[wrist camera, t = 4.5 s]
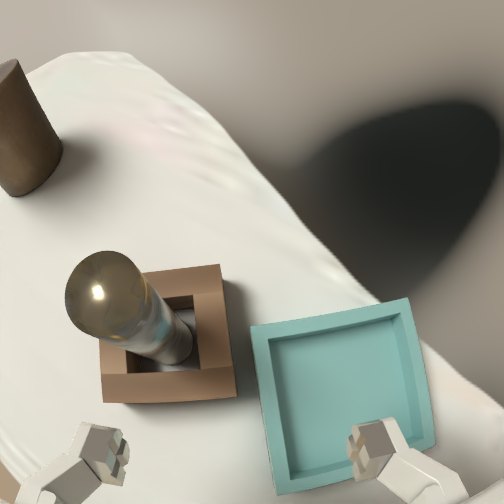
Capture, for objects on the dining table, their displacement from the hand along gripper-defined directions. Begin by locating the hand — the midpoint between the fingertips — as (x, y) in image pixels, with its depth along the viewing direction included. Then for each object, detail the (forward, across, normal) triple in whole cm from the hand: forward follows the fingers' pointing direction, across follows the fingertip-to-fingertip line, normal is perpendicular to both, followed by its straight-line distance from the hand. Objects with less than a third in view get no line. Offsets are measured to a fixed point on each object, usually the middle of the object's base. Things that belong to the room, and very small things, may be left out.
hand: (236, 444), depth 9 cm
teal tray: (+9, -8, +8) cm, 14 cm away
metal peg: (+12, +5, +4) cm, 14 cm away
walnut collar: (+12, +5, +4) cm, 14 cm away
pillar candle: (+27, +26, -9) cm, 38 cm away
